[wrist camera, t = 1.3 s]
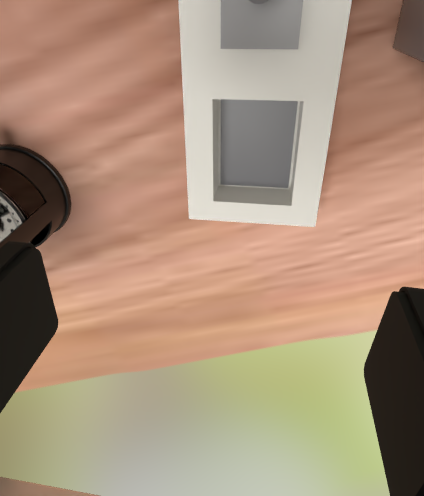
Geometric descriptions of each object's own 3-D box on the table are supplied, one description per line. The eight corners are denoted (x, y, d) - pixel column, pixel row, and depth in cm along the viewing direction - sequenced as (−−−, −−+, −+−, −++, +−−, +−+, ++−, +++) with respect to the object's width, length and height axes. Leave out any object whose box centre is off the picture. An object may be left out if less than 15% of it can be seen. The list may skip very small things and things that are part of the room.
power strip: (188, -101, 23) (144, -147, 16) (358, -109, 22) (399, -163, 14) (197, 197, 34) (175, 253, 27) (311, 203, 33) (320, 264, 25)
